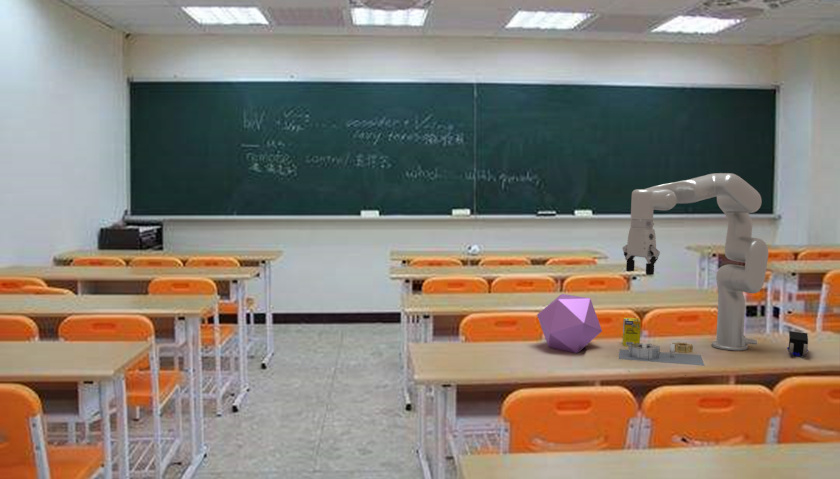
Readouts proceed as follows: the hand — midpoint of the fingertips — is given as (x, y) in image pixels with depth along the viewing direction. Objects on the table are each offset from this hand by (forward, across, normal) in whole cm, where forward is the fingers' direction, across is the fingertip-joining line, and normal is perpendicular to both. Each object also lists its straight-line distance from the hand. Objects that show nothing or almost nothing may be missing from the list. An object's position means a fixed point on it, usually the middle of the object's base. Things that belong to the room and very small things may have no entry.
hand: (639, 272), depth 257 cm
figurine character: (+31, -20, -58) cm, 69 cm away
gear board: (+31, -6, -5) cm, 32 cm away
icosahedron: (+31, +22, +13) cm, 40 cm away
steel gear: (+29, -3, -1) cm, 30 cm away
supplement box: (+31, +13, -9) cm, 35 cm away
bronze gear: (+31, -2, -20) cm, 36 cm away
